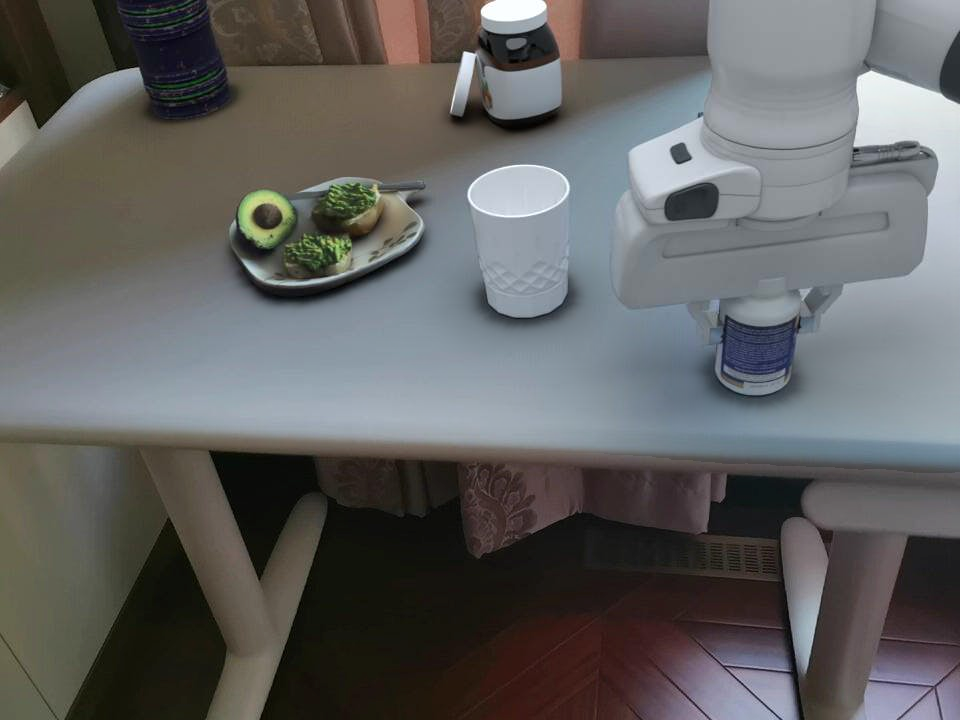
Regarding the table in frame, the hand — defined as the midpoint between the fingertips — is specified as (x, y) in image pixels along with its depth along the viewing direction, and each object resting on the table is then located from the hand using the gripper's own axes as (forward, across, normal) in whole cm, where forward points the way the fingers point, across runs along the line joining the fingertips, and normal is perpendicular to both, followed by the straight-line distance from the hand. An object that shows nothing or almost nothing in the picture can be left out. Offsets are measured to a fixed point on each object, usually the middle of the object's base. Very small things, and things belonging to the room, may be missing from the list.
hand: (755, 334), depth 67 cm
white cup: (+4, +15, -13) cm, 20 cm away
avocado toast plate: (+4, +33, -25) cm, 42 cm away
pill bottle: (+4, 0, 0) cm, 4 cm away
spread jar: (+4, +14, -47) cm, 49 cm away
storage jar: (+4, +51, -61) cm, 80 cm away
